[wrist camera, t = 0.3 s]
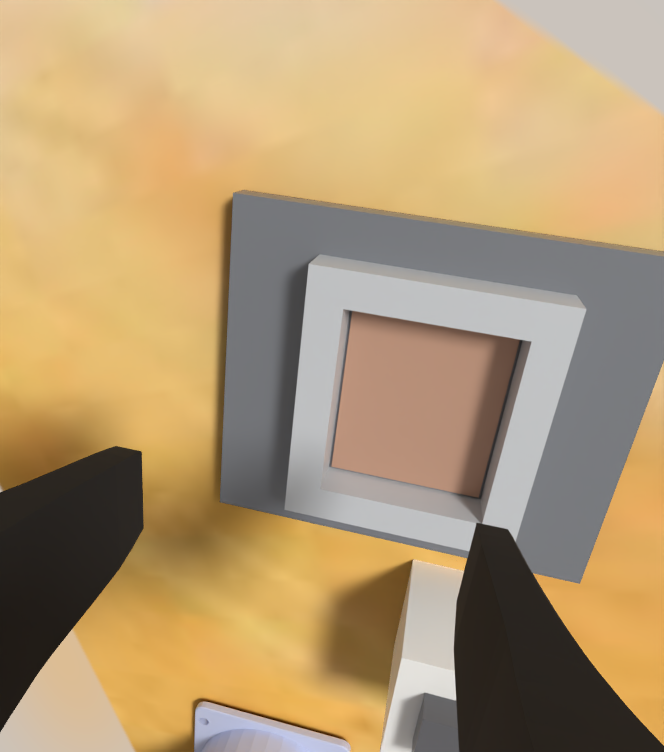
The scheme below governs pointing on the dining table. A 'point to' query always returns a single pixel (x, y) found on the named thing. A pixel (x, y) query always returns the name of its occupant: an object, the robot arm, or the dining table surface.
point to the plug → (424, 665)
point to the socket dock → (434, 375)
